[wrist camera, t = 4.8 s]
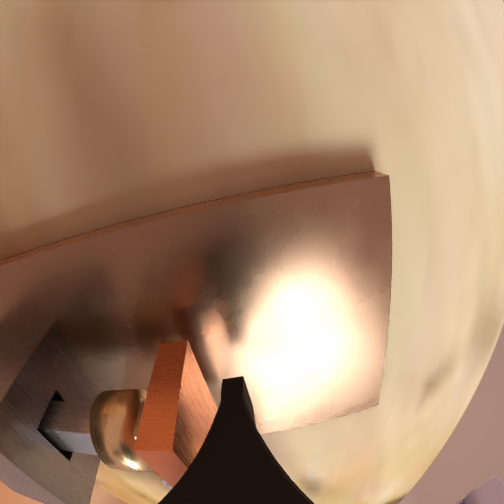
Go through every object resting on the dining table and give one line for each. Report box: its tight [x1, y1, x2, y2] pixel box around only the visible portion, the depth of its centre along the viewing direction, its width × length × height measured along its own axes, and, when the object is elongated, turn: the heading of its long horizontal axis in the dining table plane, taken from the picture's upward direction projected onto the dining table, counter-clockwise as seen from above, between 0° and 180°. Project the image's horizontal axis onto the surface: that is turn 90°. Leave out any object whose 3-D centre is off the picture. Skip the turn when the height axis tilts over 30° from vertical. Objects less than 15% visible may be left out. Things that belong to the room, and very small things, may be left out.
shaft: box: [37, 340, 218, 487], centre depth 10 cm, size 19×5×5 cm, turn 101°
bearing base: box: [0, 171, 392, 504], centre depth 10 cm, size 28×14×9 cm, turn 101°
